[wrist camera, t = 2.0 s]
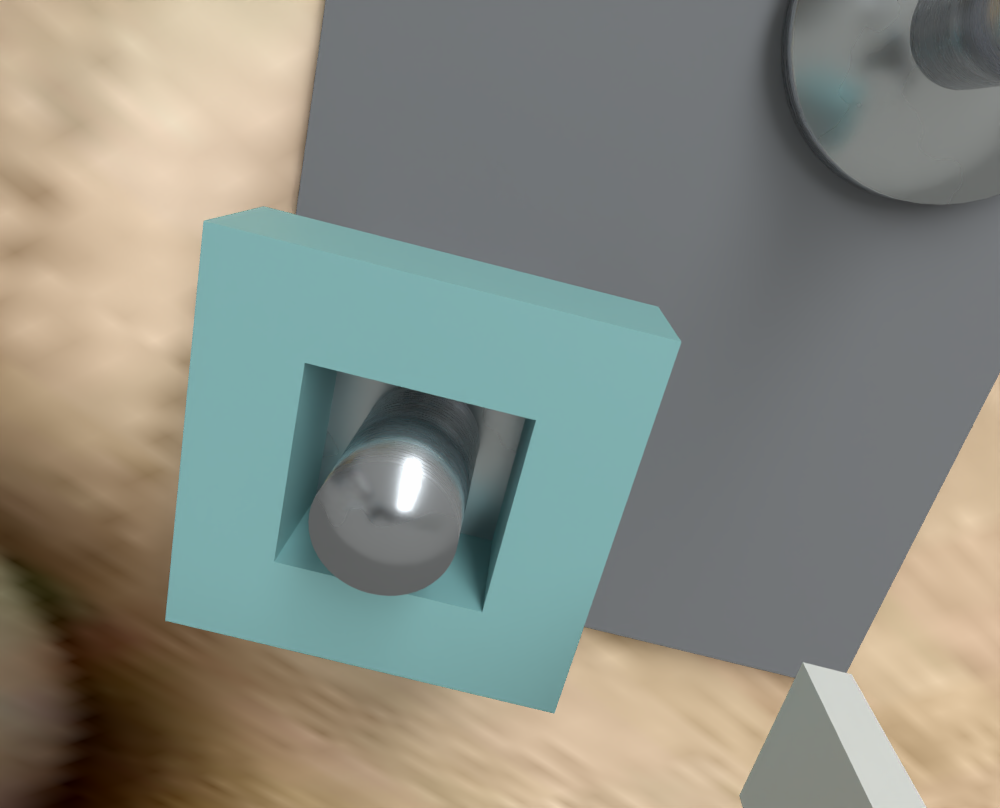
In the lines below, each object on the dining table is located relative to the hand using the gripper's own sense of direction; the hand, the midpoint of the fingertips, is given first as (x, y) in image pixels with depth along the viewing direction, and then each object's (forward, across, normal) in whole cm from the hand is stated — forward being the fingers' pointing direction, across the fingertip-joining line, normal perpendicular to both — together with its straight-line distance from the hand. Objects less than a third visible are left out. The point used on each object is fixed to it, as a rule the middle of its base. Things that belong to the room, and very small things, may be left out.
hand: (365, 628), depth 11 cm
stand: (+11, 0, 0) cm, 11 cm away
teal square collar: (+7, 0, 0) cm, 7 cm away
